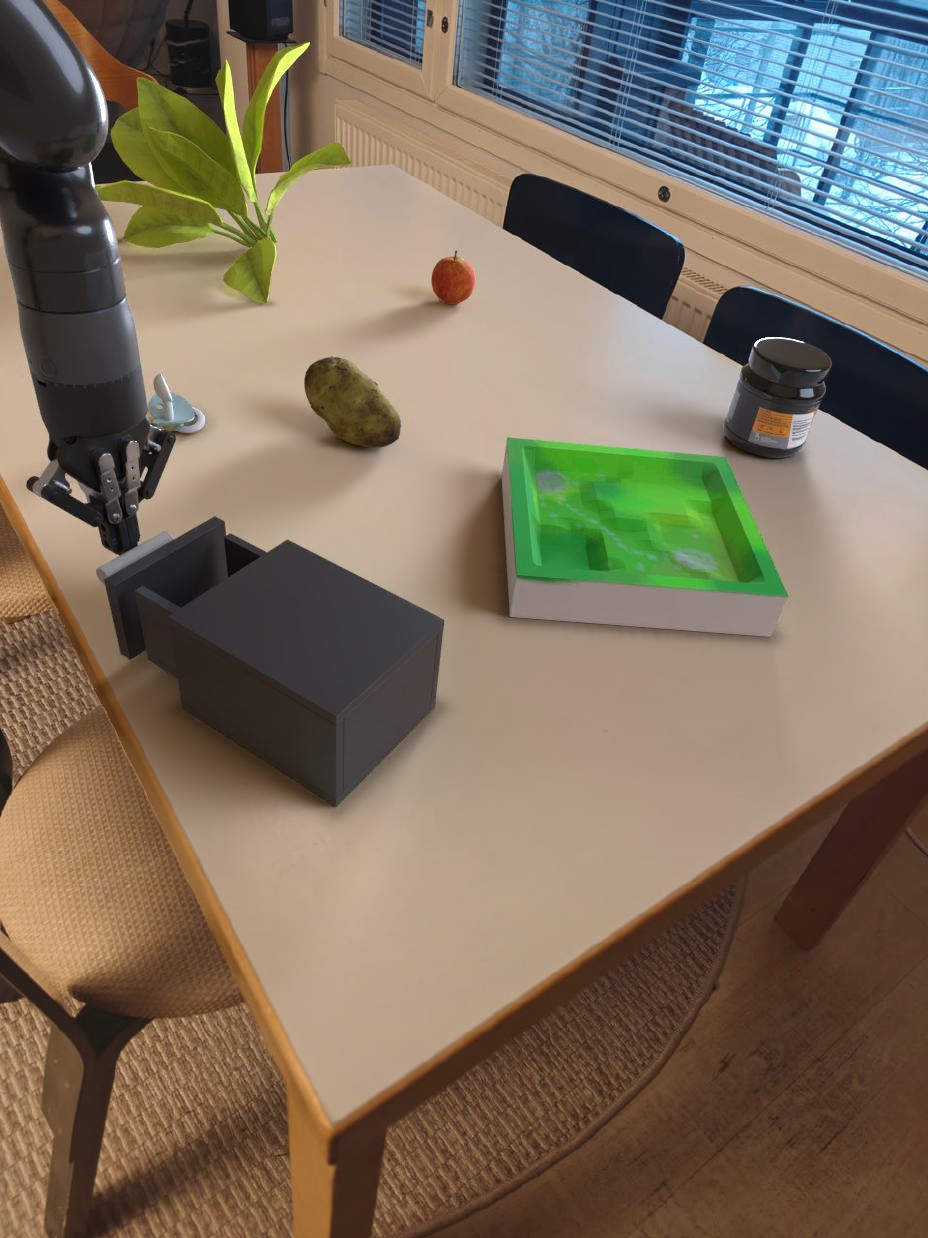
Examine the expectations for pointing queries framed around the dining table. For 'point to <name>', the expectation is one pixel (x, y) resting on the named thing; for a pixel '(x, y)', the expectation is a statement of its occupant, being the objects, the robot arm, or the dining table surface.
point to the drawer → (168, 584)
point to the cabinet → (307, 666)
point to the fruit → (453, 279)
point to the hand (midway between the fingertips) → (123, 550)
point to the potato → (351, 403)
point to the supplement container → (777, 397)
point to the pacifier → (173, 409)
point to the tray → (634, 540)
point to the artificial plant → (206, 172)
